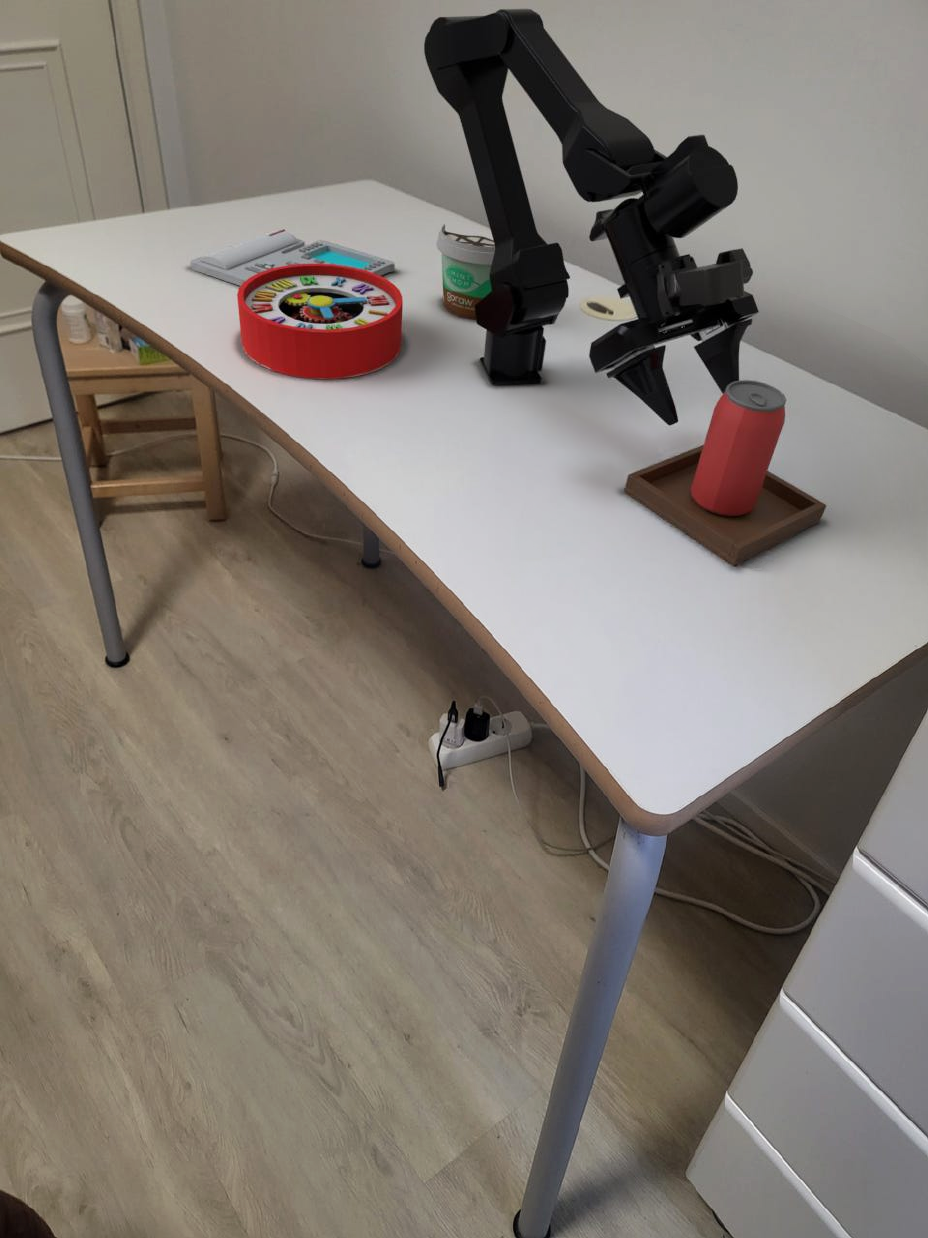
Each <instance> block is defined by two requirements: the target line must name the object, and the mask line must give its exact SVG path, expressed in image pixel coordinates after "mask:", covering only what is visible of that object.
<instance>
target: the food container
mask: <svg viewBox="0 0 928 1238" xmlns="http://www.w3.org/2000/svg"><path fill="white" fill-rule="evenodd" d="M436 239H437V240H436V244H435V245H436V248H437V250H438V251H439V252H440V253H441V274H442V278H441V279H442V299H443V300H442V301H443V304H442V305H443V307H444V309H445V311H447V312H448V313H450V314H451V315H453V316H456V317H458V318H462V319H466V320H472V321H476V314H475V305H476V304H477V303H478V302H479V301H481V300H482V299H483V298H484V297H485V296H486V295H488V294H489V293H490V292H491V291H492V289H491V283H490V277H489V274H490V270H491V265H492V261H493V256H494V252H495V244H494V240H493V239H492V238H488V237H485V236H483V235H468V234H467V235H465V234H459V233H455V232H450V231H447V230H446V224H445V223H444V224H442V226H441V229H440V230H439V232H438V235H437V238H436Z"/></svg>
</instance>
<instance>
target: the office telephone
mask: <svg viewBox="0 0 928 1238" xmlns="http://www.w3.org/2000/svg"><path fill="white" fill-rule="evenodd" d="M305 242H306V241H304V240H303V239H299V238H297V237H296V236H295V235H294V234H292V233H291V232H290V231H286V229H285V228H284V229H275V230H272V231H270V232H267V233H264V234H261V235H259V236H256V237H252V238H250V239H247V240H245V241H242V242H240V243H236V244H233V245H231V246H228V247H226V248H223V249H220V250H217V251H215V252H212V253H209V254H206V255H203V256H200V257H198V258H194V259H191V260H189V262H190V263H189V264H190V269H191V270H193V271H195V272H198V273H202V274H204V275H207V276H210V277H213V278H216V279H218V280H222V281H224V282H228V283H231V284H234V285H236V286H239V287H240V286H241V285H242V284H243V283H244V282H245V281H246V280H247V279H249V278H250V277H252V276H254V275H256V274H258V273H260V272H263V271H266V270H269V269H273V268H277V267H282V266H288V265H296V264H317V263H318V264H334V265H343V266H348V267H354V268H358V269H362V270H366V271H369V272H372V273H374V274H377V275H379V276H381V277H382V276H384V275H385V274H388V273H390V272H395V267H396V266H395V265H396V264H395V262H394V261H392V260H389V259H387V258H384V257H380V256H377V255H374V254H371V253H368V252H365V251H361V250H358V249H354V248H351V247H348V246H344V245H341V244H338V243H334V242H330V241H327V240H323V239H317V240H316V241H314V242H311V243H309V244H306V245H305Z"/></svg>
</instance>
